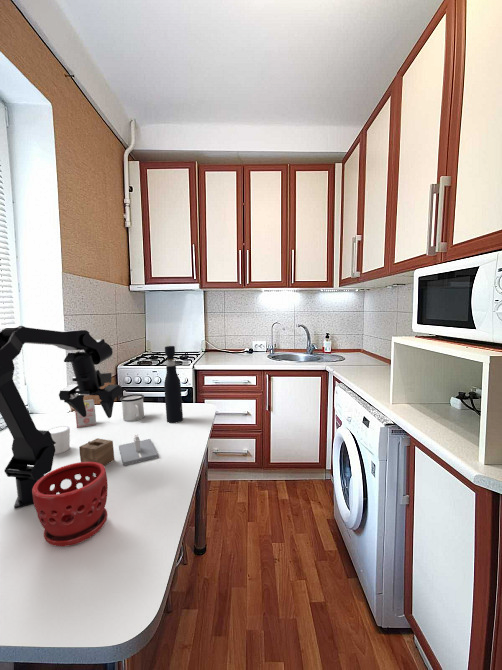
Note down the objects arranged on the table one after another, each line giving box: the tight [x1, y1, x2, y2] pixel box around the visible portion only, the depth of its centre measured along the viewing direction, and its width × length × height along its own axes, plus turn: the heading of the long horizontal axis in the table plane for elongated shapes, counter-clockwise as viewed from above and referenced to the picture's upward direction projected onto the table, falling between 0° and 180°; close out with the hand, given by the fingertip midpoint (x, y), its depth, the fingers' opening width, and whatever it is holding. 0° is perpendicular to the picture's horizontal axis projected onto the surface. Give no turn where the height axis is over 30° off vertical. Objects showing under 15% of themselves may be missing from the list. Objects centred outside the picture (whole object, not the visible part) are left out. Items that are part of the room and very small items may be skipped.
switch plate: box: [118, 434, 159, 466], centre depth 104 cm, size 14×10×6 cm
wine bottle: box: [163, 345, 184, 424], centre depth 132 cm, size 6×6×30 cm
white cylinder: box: [47, 425, 71, 455], centre depth 110 cm, size 7×7×7 cm
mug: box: [119, 393, 145, 422], centre depth 138 cm, size 12×9×9 cm
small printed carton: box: [74, 398, 97, 428], centre depth 134 cm, size 4×7×10 cm, turn 112°
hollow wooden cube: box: [78, 438, 115, 467], centre depth 98 cm, size 6×6×6 cm
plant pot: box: [32, 461, 109, 548], centre depth 67 cm, size 13×13×12 cm
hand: (97, 417), depth 103 cm, fingers open, 9 cm apart
